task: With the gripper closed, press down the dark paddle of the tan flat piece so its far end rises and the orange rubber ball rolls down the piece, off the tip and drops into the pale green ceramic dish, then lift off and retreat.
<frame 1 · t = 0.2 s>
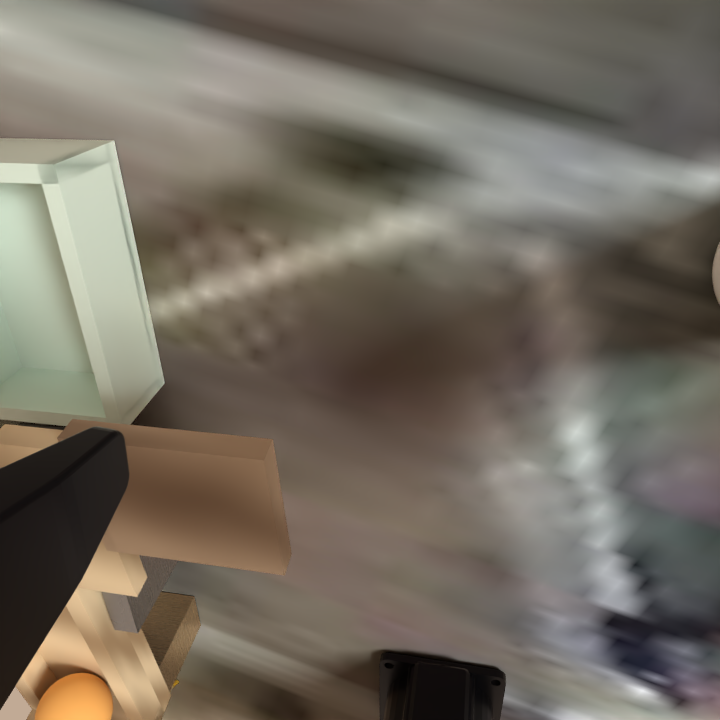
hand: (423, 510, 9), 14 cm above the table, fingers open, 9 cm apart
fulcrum: (119, 473, 30), on the table
ball: (74, 712, 28), point 7 cm above the table, tilted 10°, touching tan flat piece
dish: (62, 269, 25), on the table
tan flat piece: (124, 608, 24), point 7 cm above the table, hinge at 6.0°, touching ball
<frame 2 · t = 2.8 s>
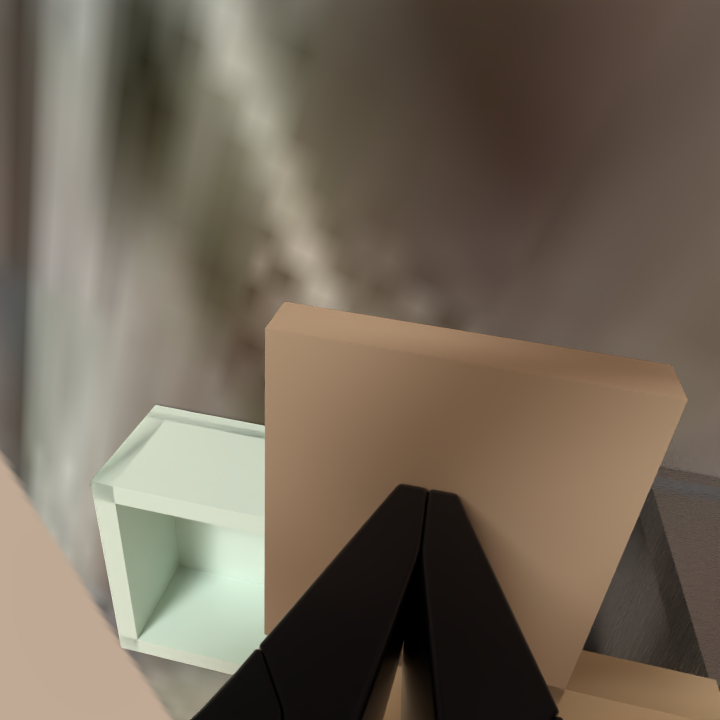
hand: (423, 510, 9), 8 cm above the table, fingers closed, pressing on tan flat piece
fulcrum: (654, 591, 19), on the table
dish: (311, 520, 20), on the table
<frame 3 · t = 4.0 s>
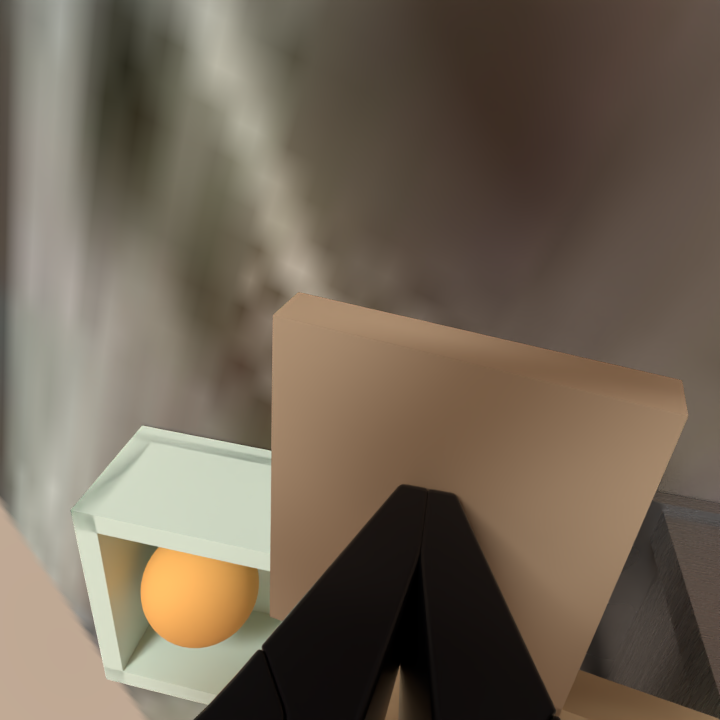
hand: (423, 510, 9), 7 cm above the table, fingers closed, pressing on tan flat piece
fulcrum: (664, 621, 18), on the table
ball: (201, 585, 18), point 2 cm above the table, tilted 43°, touching dish
dish: (306, 545, 19), on the table
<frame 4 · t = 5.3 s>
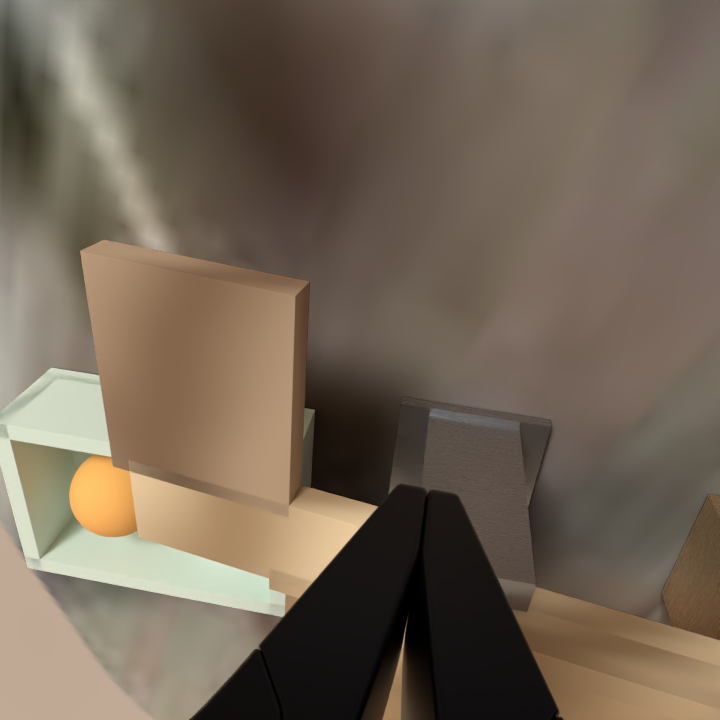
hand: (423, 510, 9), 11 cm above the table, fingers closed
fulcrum: (454, 507, 23), on the table
ball: (117, 491, 23), point 2 cm above the table, tilted 16°, touching dish
dish: (186, 461, 25), on the table
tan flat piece: (476, 582, 16), point 7 cm above the table, hinge at -8.2°
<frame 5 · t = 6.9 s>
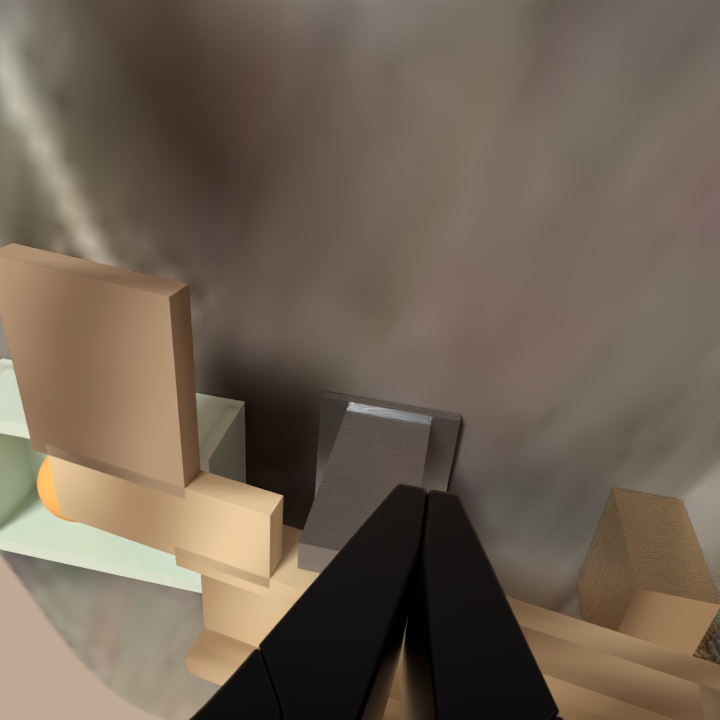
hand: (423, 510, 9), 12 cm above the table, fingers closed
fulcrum: (379, 496, 25), on the table
ball: (83, 479, 24), point 2 cm above the table, tilted 17°, touching dish
dish: (130, 448, 26), on the table
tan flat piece: (357, 562, 17), point 7 cm above the table, hinge at -8.2°
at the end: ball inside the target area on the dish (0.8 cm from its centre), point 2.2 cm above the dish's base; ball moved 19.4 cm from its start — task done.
